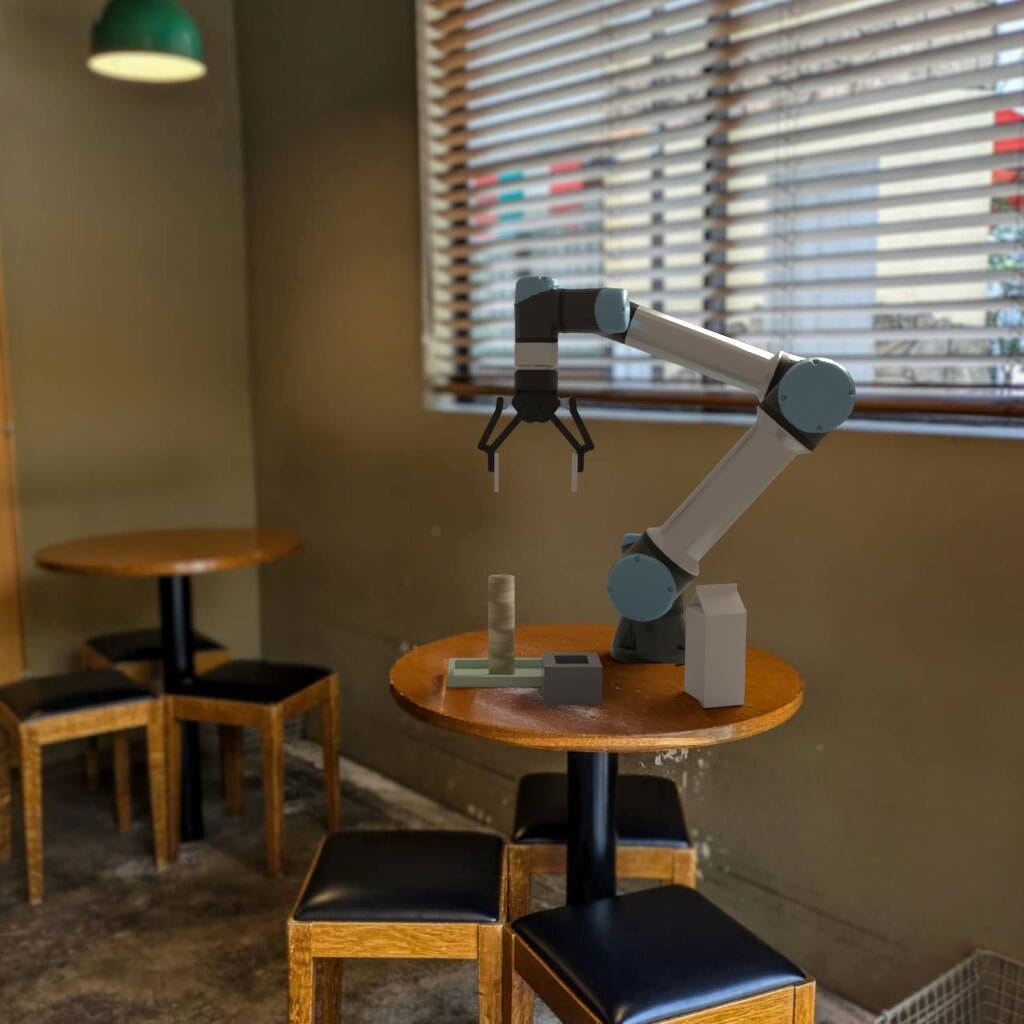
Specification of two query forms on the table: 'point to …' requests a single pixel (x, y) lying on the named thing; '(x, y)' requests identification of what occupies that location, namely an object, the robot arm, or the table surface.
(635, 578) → the robot arm
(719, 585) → the milk carton
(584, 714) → the table surface
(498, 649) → the dowel
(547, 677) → the square block with hole
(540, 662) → the tray
